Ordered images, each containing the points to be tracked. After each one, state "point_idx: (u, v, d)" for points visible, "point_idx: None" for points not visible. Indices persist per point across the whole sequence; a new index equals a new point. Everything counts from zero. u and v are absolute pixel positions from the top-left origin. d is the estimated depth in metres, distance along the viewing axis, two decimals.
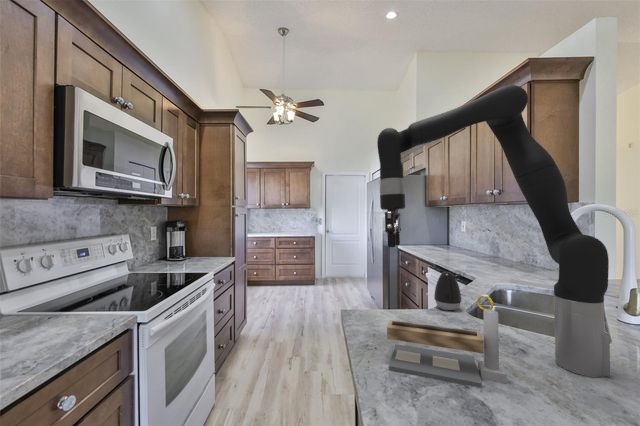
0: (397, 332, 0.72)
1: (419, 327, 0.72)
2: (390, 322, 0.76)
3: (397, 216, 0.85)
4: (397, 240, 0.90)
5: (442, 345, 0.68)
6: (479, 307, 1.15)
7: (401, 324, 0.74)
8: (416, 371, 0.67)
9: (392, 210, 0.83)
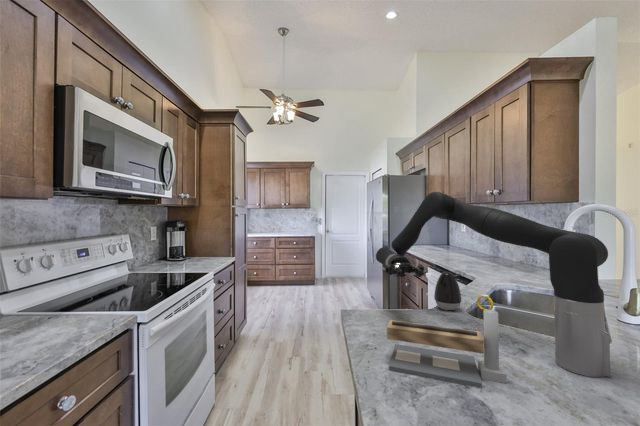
0: (397, 332, 0.72)
1: (419, 327, 0.72)
2: (390, 322, 0.76)
3: (396, 263, 0.97)
4: (417, 271, 0.89)
5: (442, 345, 0.68)
6: (479, 307, 1.15)
7: (401, 324, 0.74)
8: (416, 371, 0.67)
9: (390, 265, 0.99)
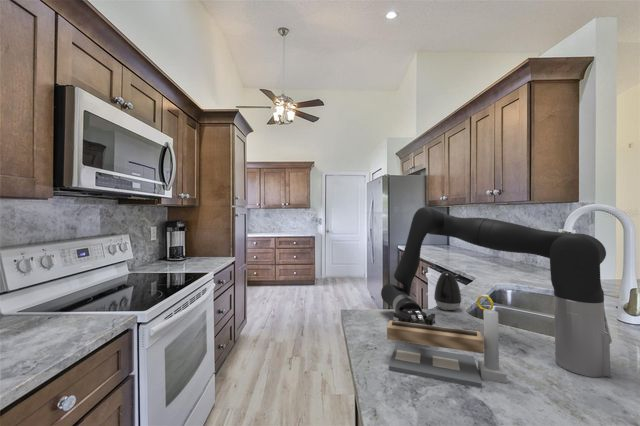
0: (397, 332, 0.72)
1: (419, 327, 0.72)
2: (390, 322, 0.76)
3: (407, 311, 0.85)
4: None
5: (442, 345, 0.68)
6: (479, 307, 1.15)
7: (401, 324, 0.74)
8: (416, 371, 0.67)
9: (399, 312, 0.87)
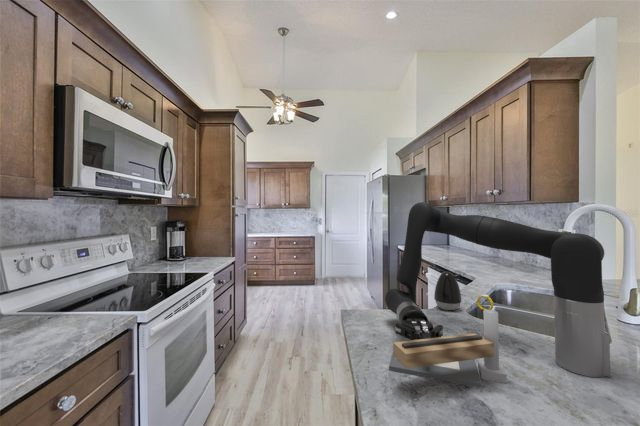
0: (417, 356, 0.59)
1: (432, 344, 0.62)
2: (398, 345, 0.62)
3: (411, 321, 0.76)
4: None
5: (460, 358, 0.61)
6: (479, 307, 1.15)
7: (414, 345, 0.62)
8: (416, 371, 0.67)
9: (402, 322, 0.78)
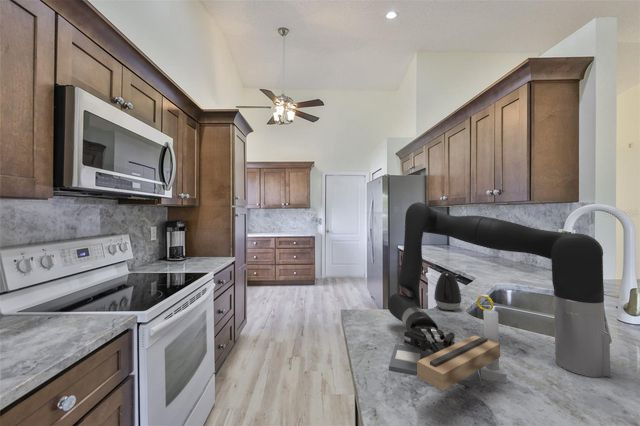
0: (451, 374, 0.52)
1: (455, 355, 0.57)
2: (426, 364, 0.54)
3: (420, 329, 0.71)
4: None
5: (480, 366, 0.58)
6: (479, 307, 1.15)
7: (442, 361, 0.55)
8: (416, 371, 0.67)
9: None
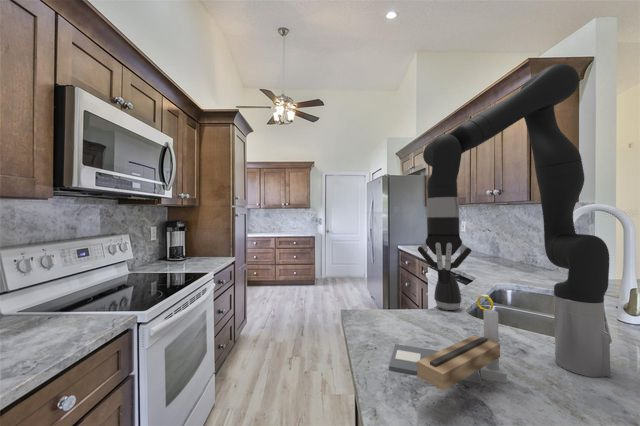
0: (451, 374, 0.52)
1: (455, 355, 0.57)
2: (426, 364, 0.54)
3: (435, 246, 0.70)
4: None
5: (480, 366, 0.58)
6: (479, 307, 1.15)
7: (442, 361, 0.55)
8: (416, 371, 0.67)
9: (427, 236, 0.72)
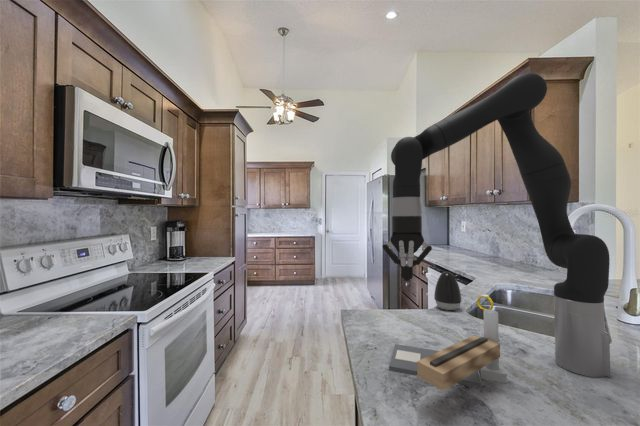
0: (451, 374, 0.52)
1: (455, 355, 0.57)
2: (426, 364, 0.54)
3: (399, 243, 0.73)
4: None
5: (480, 366, 0.58)
6: (479, 307, 1.15)
7: (442, 361, 0.55)
8: (416, 371, 0.67)
9: (392, 234, 0.75)
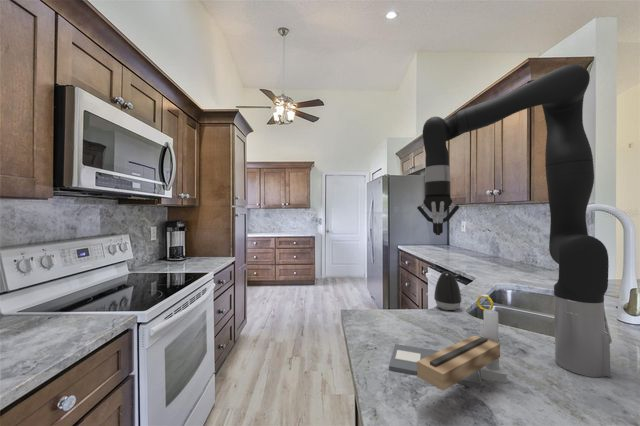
0: (451, 374, 0.52)
1: (455, 355, 0.57)
2: (426, 364, 0.54)
3: (431, 204, 0.89)
4: None
5: (480, 366, 0.58)
6: (479, 307, 1.15)
7: (442, 361, 0.55)
8: (416, 371, 0.67)
9: (425, 198, 0.91)
